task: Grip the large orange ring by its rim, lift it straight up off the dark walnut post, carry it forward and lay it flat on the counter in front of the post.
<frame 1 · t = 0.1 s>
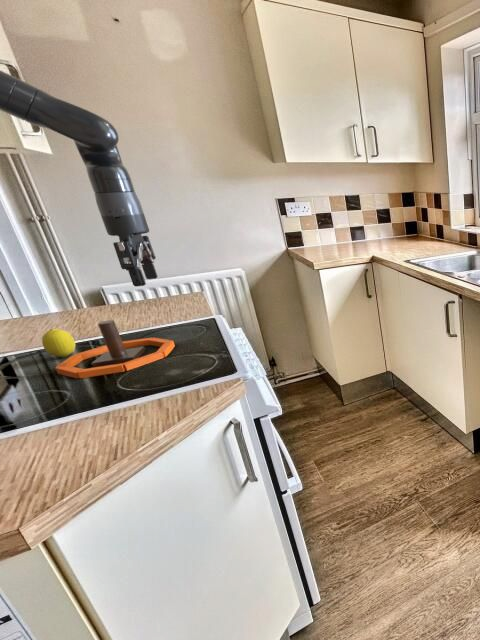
hand: (146, 282, 103), 19 cm above the worktop, tool pointing down, fingers open, 8 cm apart
lemon: (66, 358, 108), on the worktop
post: (120, 359, 105), on the worktop
ring: (120, 359, 105), on the worktop
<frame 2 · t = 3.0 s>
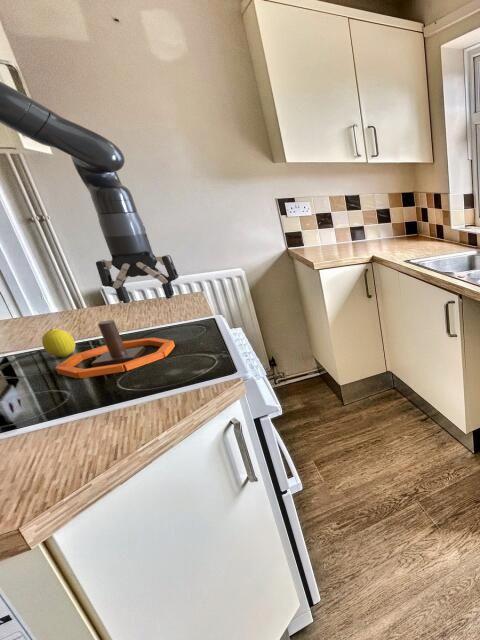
hand: (148, 300, 104), 14 cm above the worktop, tool pointing down, fingers open, 8 cm apart
nothing on the worktop moved.
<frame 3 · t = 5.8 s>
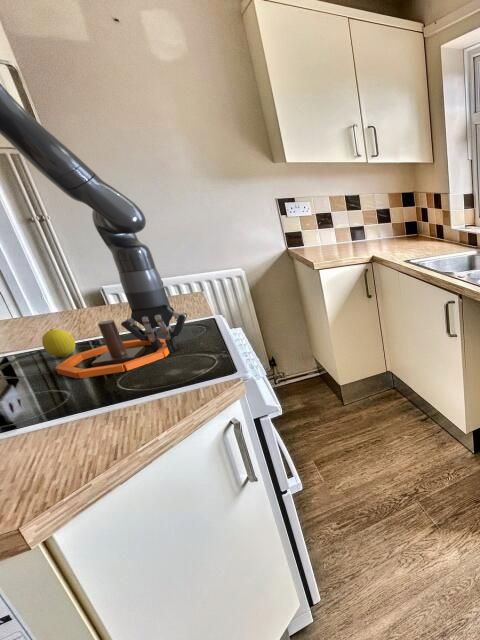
hand: (166, 352, 109), 0 cm above the worktop, tool pointing down, fingers closed on ring, 2 cm apart
ring: (121, 359, 105), on the worktop, touching gripper
everything else where it was.
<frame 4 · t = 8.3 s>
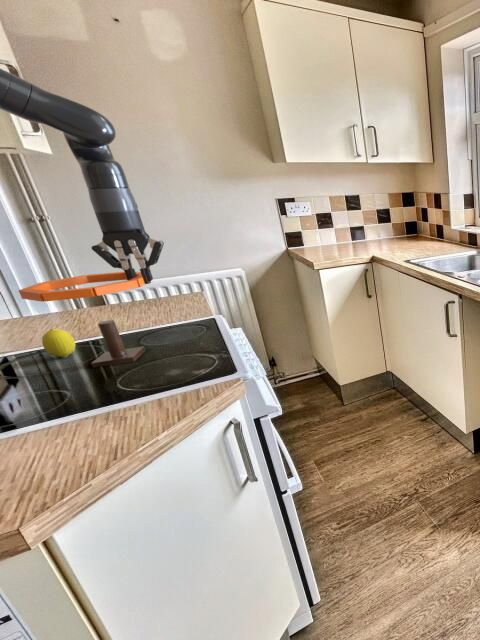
hand: (142, 283, 102), 18 cm above the worktop, tool pointing down, fingers closed on ring
ring: (91, 288, 99), point 18 cm above the worktop, touching gripper
everything else where it was.
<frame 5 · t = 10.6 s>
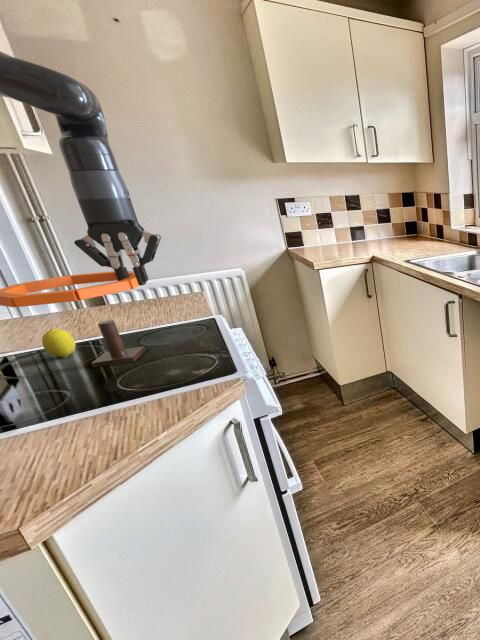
hand: (135, 284, 87), 21 cm above the worktop, tool pointing down, fingers closed on ring
ring: (75, 291, 83), point 21 cm above the worktop, touching gripper
everything else where it was.
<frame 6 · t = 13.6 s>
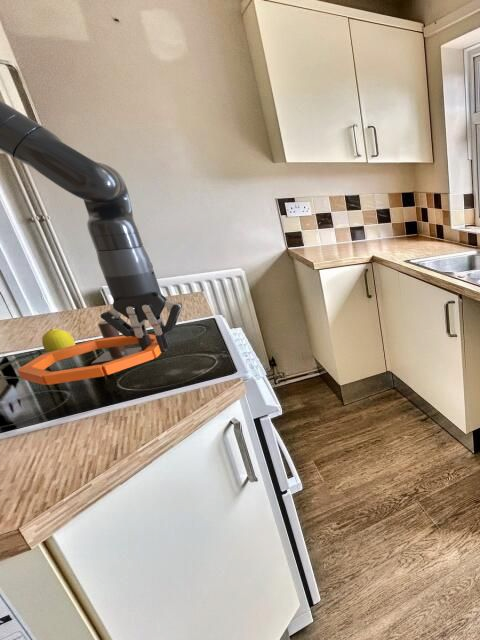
hand: (158, 351, 89), 8 cm above the worktop, tool pointing down, fingers closed on ring
ring: (101, 360, 86), point 7 cm above the worktop, touching gripper
everything else where it was.
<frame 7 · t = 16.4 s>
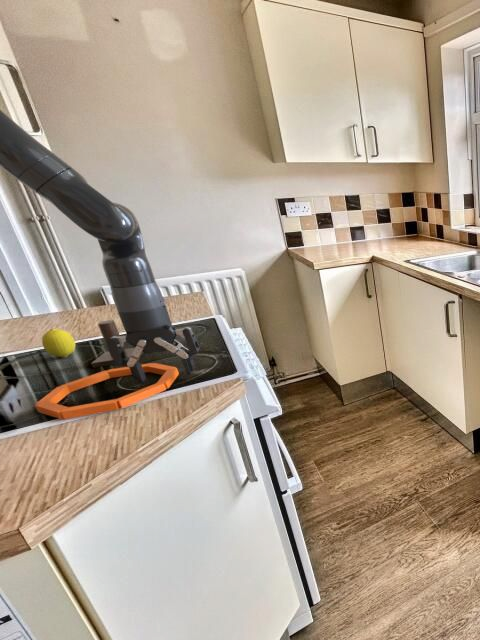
hand: (166, 376, 92), 1 cm above the worktop, tool pointing down, fingers open, 8 cm apart
ring: (114, 392, 89), on the worktop
everything else where it was.
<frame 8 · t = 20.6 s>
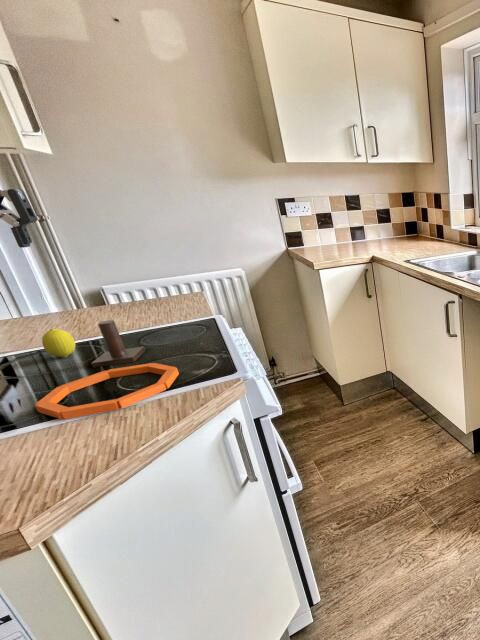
nothing on the worktop moved.
at the end: ring inside the target area (0.1 cm from its centre), on the worktop; ring tilted 0°; the gripper is holding nothing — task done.
